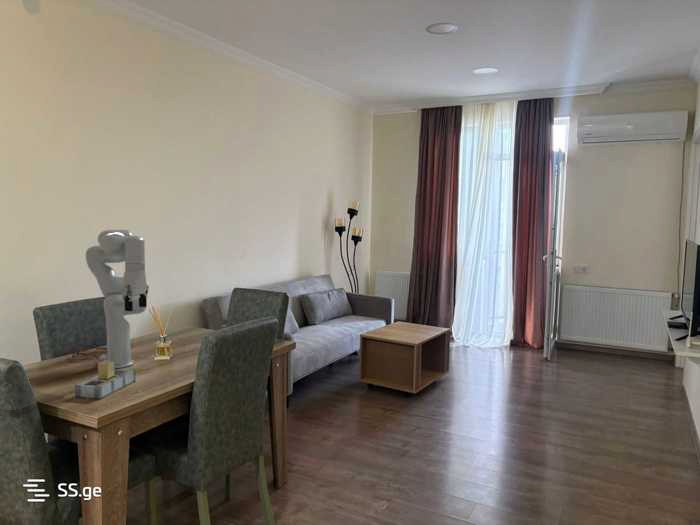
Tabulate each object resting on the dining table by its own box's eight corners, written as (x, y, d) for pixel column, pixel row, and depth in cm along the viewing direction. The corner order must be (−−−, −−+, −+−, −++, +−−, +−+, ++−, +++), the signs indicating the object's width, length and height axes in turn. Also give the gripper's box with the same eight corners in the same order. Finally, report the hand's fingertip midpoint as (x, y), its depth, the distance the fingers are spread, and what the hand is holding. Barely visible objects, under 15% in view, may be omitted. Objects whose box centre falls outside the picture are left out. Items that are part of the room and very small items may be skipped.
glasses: (86, 352, 257) (86, 342, 257) (113, 353, 257) (112, 342, 256) (71, 359, 244) (71, 349, 244) (99, 360, 244) (99, 349, 243)
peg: (98, 389, 200) (97, 363, 199) (105, 385, 204) (104, 360, 203) (108, 389, 199) (107, 363, 198) (114, 386, 203) (114, 361, 202)
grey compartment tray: (75, 397, 191) (74, 385, 191) (113, 379, 213) (112, 368, 213) (99, 399, 190) (99, 387, 189) (135, 381, 211) (135, 370, 211)
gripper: (139, 265, 223) (139, 305, 224) (113, 268, 206) (114, 312, 208) (155, 265, 222) (155, 306, 223) (130, 269, 205) (131, 313, 206)
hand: (136, 308), depth 215 cm, fingers open, 9 cm apart
